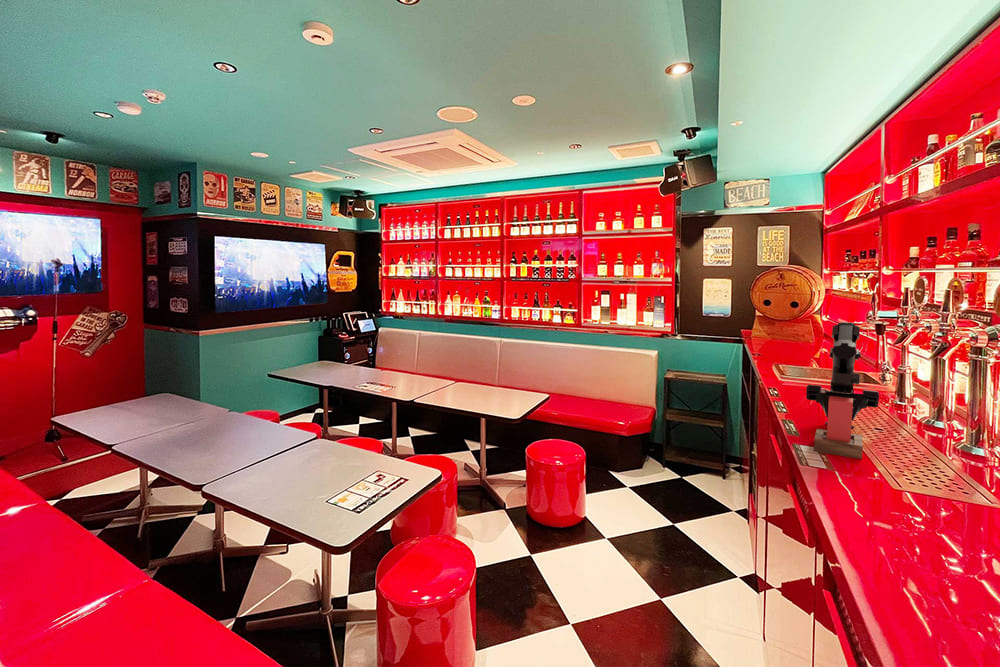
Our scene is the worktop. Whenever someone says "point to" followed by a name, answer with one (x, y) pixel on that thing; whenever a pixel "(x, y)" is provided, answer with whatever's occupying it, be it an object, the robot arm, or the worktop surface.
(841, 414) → the red brick
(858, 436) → the walnut base
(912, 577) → the worktop surface
